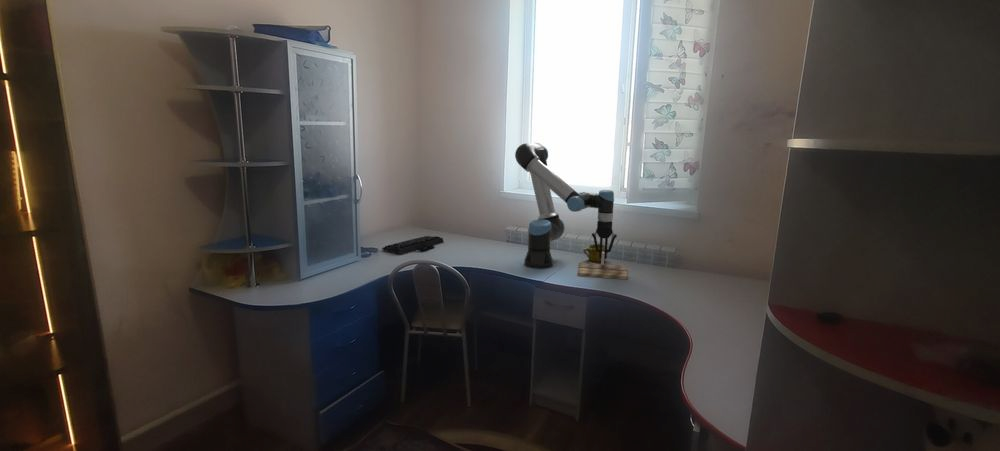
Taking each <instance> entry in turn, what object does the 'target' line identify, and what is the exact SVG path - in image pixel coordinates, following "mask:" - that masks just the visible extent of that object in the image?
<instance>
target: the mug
mask: <svg viewBox="0 0 1000 451" xmlns="http://www.w3.org/2000/svg"><path fill="white" fill-rule="evenodd" d="M597 245H598V249H600V243H597ZM604 251H605V244H602V252H604ZM582 252H583V253H584V254H585V255H586V257H587V258H588V260H589V261H592V262H598V263H601V259H599V252H597V251H596V248H595V243H593V244H590V245H589V246H588V247H584V248H583V249H582ZM605 260H606V259H604V261H605Z"/></svg>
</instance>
